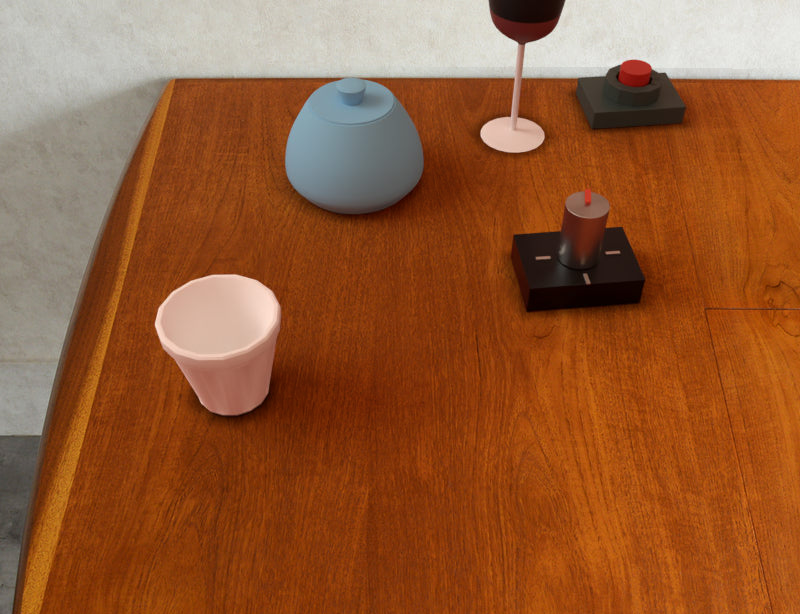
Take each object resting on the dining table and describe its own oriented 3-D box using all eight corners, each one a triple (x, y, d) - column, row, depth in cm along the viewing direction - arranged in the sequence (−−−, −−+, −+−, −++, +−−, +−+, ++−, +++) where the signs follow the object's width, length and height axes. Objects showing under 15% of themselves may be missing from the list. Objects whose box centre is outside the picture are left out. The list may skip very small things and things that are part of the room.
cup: (283, 342, 82) (272, 265, 75) (298, 424, 76) (288, 348, 69) (173, 359, 81) (152, 282, 74) (179, 444, 74) (156, 368, 67)
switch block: (661, 88, 111) (669, 58, 108) (682, 123, 106) (690, 92, 103) (575, 93, 111) (580, 63, 108) (591, 129, 105) (597, 98, 102)
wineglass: (532, 161, 101) (554, -17, 86) (463, 140, 104) (473, -36, 89) (560, 128, 106) (586, -47, 91) (493, 108, 108) (508, -65, 93)
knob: (599, 271, 84) (611, 217, 79) (556, 267, 84) (565, 213, 80) (598, 244, 87) (610, 190, 82) (557, 241, 87) (566, 186, 82)
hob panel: (616, 249, 91) (622, 224, 89) (639, 304, 86) (646, 278, 83) (510, 257, 90) (513, 232, 88) (526, 312, 85) (530, 287, 82)
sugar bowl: (439, 210, 95) (443, 112, 87) (300, 232, 93) (289, 133, 84) (404, 134, 105) (404, 39, 96) (277, 152, 102) (266, 56, 94)
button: (643, 72, 107) (646, 58, 106) (652, 87, 105) (655, 73, 103) (614, 74, 107) (617, 60, 105) (622, 89, 104) (625, 75, 103)
